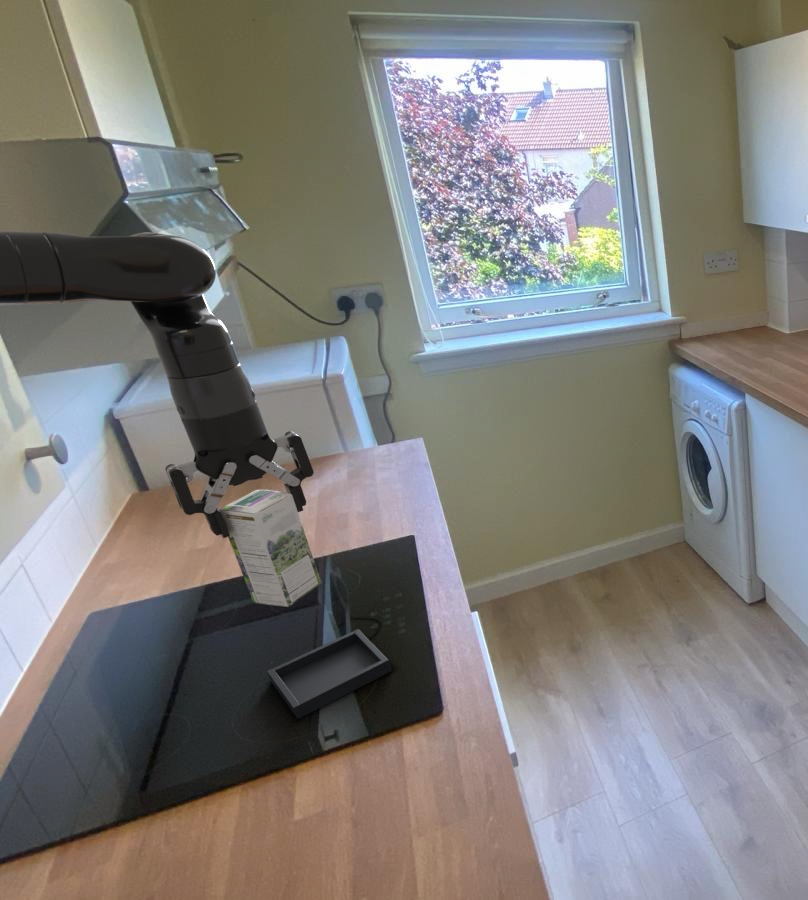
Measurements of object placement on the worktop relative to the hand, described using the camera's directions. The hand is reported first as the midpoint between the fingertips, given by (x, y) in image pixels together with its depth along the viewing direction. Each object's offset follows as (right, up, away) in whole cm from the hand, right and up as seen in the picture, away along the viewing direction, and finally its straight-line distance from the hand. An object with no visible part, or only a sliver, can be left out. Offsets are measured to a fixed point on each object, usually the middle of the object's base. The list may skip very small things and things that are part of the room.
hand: (262, 522), depth 95 cm
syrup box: (0, -10, +5) cm, 11 cm away
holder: (0, -24, +14) cm, 28 cm away
